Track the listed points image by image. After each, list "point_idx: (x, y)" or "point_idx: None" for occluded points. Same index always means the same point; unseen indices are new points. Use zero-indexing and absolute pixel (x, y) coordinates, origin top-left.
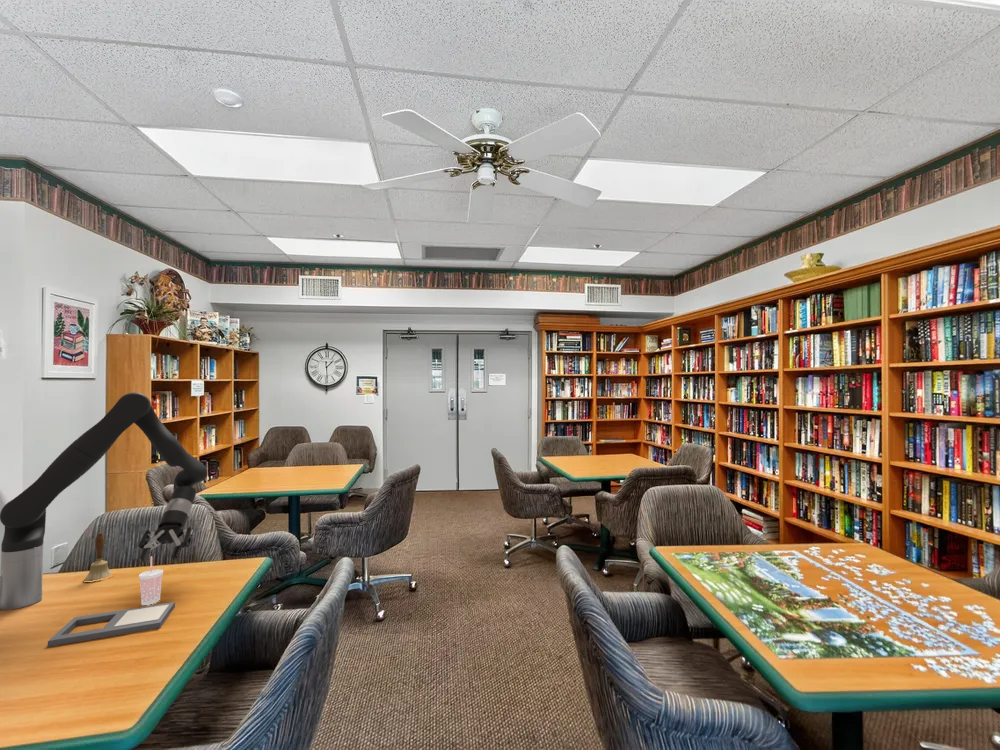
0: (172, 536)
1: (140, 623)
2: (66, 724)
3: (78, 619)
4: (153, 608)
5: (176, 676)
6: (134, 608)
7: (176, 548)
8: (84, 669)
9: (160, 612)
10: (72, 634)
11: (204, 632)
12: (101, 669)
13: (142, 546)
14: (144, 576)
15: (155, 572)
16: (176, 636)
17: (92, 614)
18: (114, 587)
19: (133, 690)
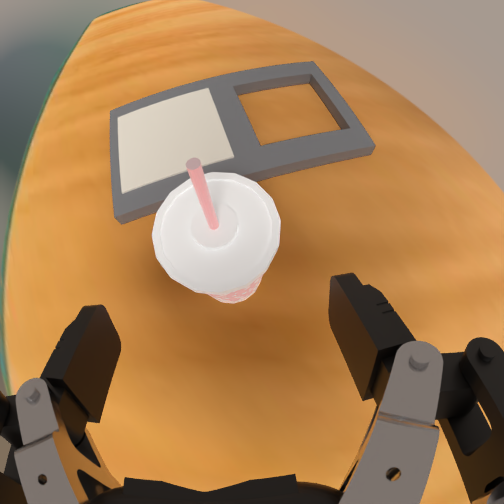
0: (67, 500)
1: (151, 102)
2: (143, 6)
3: (349, 130)
4: (156, 166)
5: (70, 52)
6: None
7: (56, 360)
8: (181, 35)
9: (125, 145)
10: (284, 72)
11: (43, 119)
12: (157, 38)
13: (460, 365)
14: (219, 174)
15: (193, 237)
16: (79, 102)
17: (338, 151)
18: None
19: (104, 32)
